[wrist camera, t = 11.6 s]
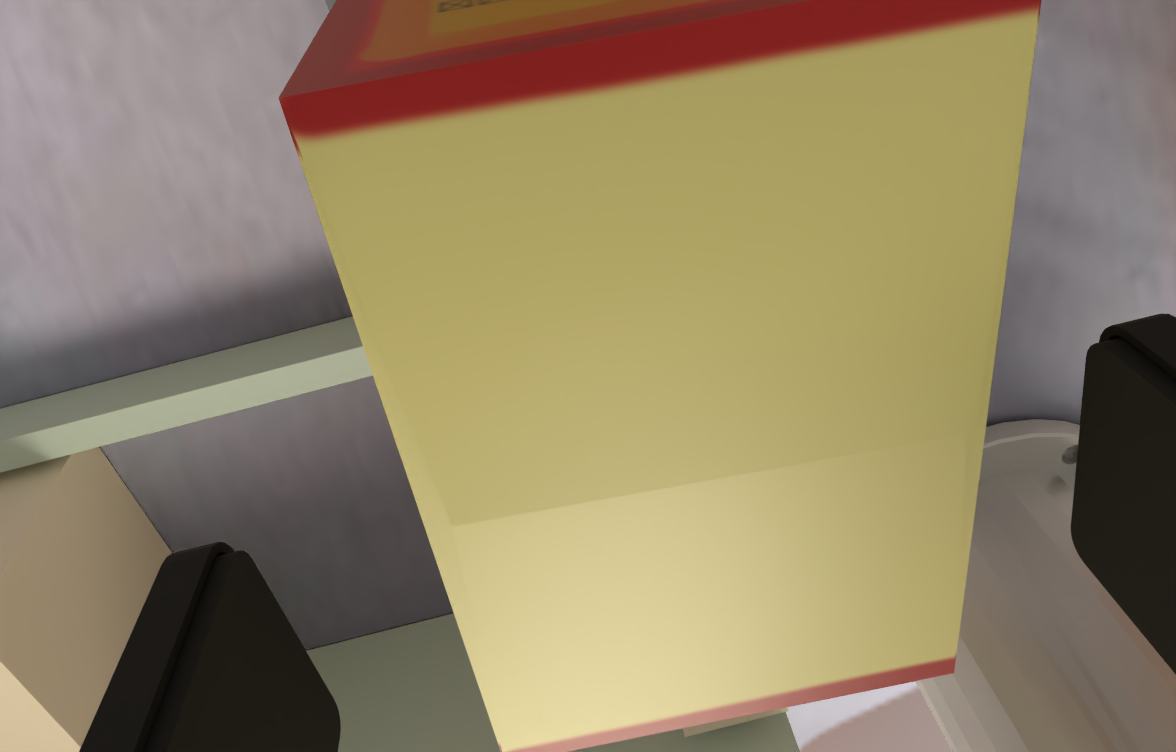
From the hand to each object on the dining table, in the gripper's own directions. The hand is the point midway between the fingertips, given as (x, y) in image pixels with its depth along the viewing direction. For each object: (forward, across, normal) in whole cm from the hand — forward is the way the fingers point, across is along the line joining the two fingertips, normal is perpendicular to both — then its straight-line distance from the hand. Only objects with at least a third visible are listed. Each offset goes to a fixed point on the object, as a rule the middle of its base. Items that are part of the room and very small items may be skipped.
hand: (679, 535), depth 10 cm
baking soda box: (+16, 0, -1) cm, 16 cm away
